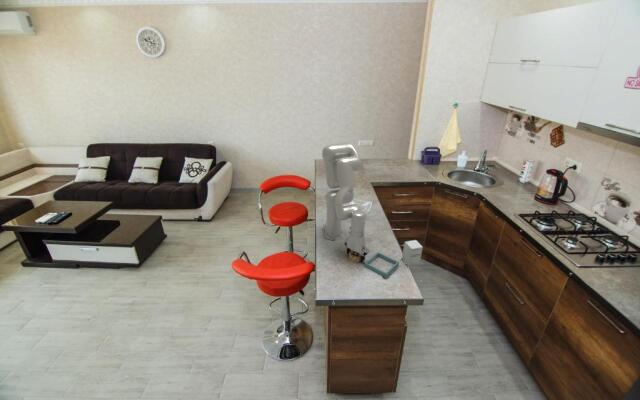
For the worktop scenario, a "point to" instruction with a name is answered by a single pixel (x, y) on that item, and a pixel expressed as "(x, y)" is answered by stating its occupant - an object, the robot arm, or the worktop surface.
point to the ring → (354, 258)
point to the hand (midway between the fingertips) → (355, 256)
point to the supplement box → (412, 253)
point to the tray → (380, 270)
